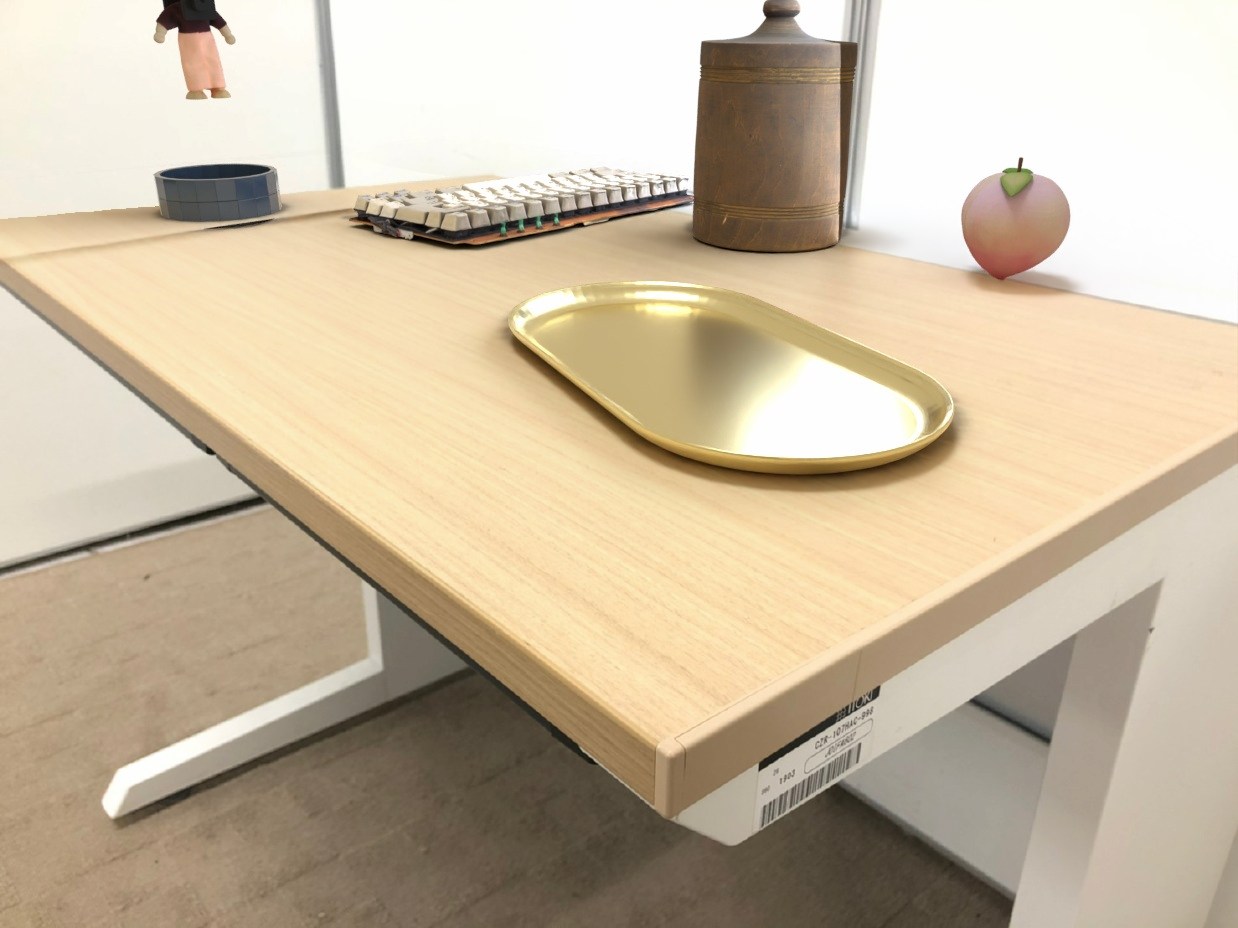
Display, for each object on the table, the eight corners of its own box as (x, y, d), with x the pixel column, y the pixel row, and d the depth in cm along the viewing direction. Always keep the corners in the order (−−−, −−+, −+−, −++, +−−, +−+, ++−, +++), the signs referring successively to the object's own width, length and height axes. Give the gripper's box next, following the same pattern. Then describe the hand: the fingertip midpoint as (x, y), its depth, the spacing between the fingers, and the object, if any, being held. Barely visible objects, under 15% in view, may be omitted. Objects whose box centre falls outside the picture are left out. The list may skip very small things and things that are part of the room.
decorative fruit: (1067, 297, 79) (1093, 167, 74) (960, 291, 80) (979, 164, 76) (1046, 270, 87) (1067, 151, 83) (949, 265, 89) (965, 148, 84)
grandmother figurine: (231, 96, 106) (210, -37, 101) (247, 97, 104) (227, -39, 99) (159, 99, 101) (133, -39, 96) (174, 101, 99) (148, -41, 94)
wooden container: (822, 222, 106) (842, -4, 97) (857, 253, 93) (883, -6, 84) (685, 223, 106) (692, -4, 97) (699, 254, 93) (709, -7, 83)
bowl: (143, 218, 107) (134, 171, 105) (249, 204, 115) (243, 160, 113) (193, 235, 100) (184, 184, 98) (303, 218, 108) (297, 171, 106)
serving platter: (695, 290, 80) (696, 271, 79) (1028, 447, 51) (1033, 418, 51) (473, 318, 73) (472, 297, 72) (716, 519, 44) (718, 487, 43)
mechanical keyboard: (587, 184, 129) (586, 157, 128) (704, 203, 118) (705, 174, 117) (341, 228, 104) (338, 195, 102) (461, 257, 92) (459, 220, 91)
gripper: (80, -191, 95) (120, 19, 102) (152, -217, 84) (190, 20, 92) (159, -181, 99) (192, 19, 107) (236, -204, 89) (266, 20, 97)
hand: (191, 17), depth 99 cm, fingers closed on grandmother figurine, 3 cm apart
